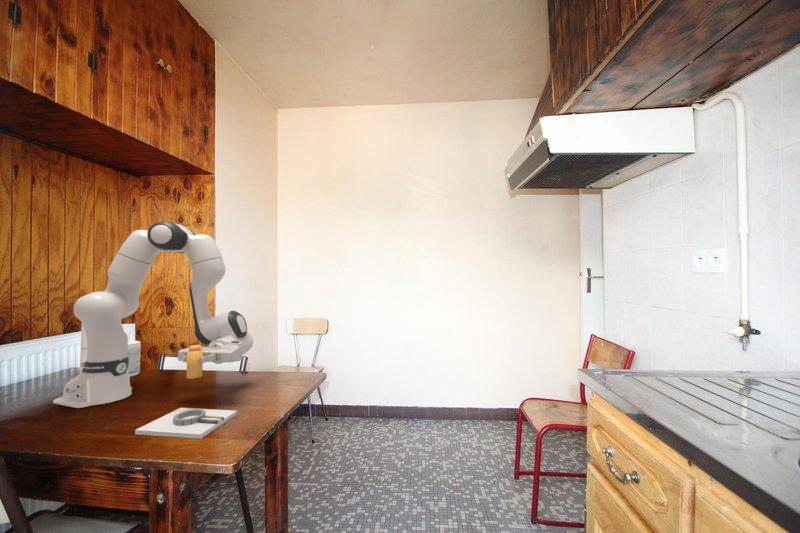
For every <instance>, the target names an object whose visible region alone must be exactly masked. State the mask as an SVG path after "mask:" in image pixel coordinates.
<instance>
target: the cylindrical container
mask: <svg viewBox="0 0 800 533" xmlns="http://www.w3.org/2000/svg"><path fill="white" fill-rule="evenodd" d="M80 332H81V335H80V358H79V359H80V362H79V374H80V373H81V372H82V369H83V366H81V365H84V364H80V363H84V362H86V361H87V337H86V333H85V329H84V327H83V324H82V323H81V331H80ZM80 366H81V367H80Z"/></svg>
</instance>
